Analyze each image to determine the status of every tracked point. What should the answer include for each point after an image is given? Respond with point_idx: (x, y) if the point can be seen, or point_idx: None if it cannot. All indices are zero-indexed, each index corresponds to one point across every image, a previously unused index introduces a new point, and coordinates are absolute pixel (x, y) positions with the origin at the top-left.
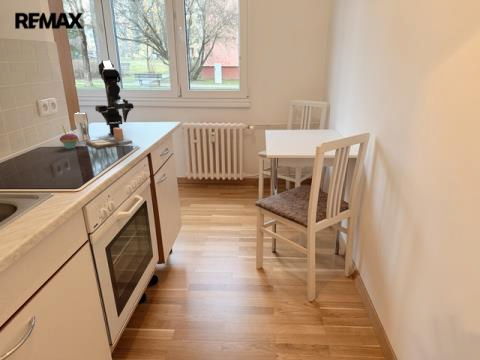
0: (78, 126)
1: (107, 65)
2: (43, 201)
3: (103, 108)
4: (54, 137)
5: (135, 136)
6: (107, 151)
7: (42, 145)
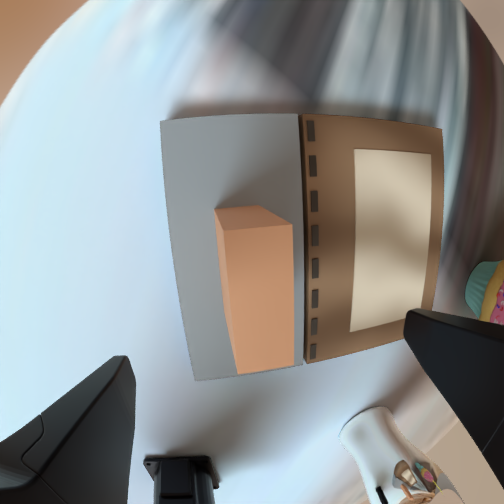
0: (430, 459)
1: None
2: None
3: None
4: None
5: (72, 368)
6: (399, 36)
7: None
